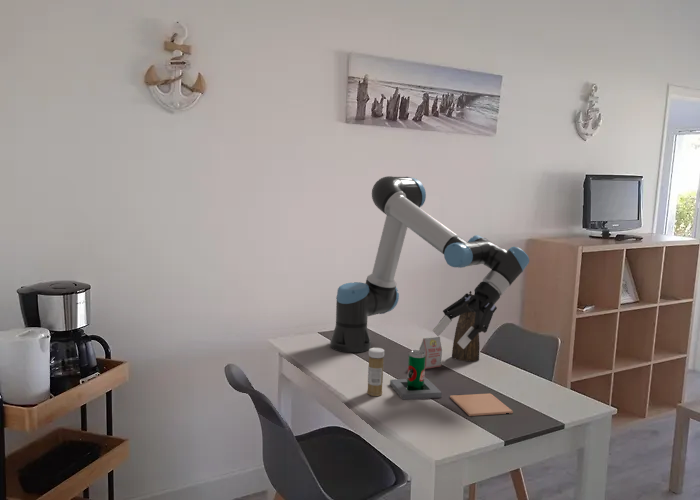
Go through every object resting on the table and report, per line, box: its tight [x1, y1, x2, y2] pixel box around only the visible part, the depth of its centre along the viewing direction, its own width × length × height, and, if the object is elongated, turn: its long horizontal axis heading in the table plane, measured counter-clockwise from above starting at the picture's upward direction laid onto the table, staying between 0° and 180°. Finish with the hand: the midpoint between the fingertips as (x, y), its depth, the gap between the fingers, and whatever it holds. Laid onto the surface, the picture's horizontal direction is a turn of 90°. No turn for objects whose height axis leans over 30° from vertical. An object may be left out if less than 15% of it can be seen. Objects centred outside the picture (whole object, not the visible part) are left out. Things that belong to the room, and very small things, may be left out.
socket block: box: [389, 377, 443, 400], centre depth 172 cm, size 12×12×2 cm
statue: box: [451, 290, 480, 362], centre depth 204 cm, size 9×8×25 cm
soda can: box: [406, 349, 426, 391], centre depth 171 cm, size 5×5×12 cm
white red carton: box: [418, 336, 443, 370], centre depth 195 cm, size 4×7×10 cm, turn 118°
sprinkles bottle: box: [366, 347, 385, 397], centre depth 167 cm, size 5×5×14 cm
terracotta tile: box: [449, 393, 514, 417], centre depth 163 cm, size 13×13×1 cm
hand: (447, 339), depth 174 cm, fingers open, 13 cm apart
